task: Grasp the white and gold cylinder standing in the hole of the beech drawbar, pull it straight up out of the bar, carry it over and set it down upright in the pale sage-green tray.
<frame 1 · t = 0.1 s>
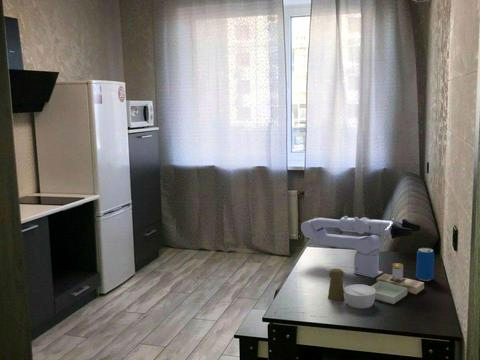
hand: (415, 230, 197), 22 cm above the table, tool horizontal, fingers open, 7 cm apart
drawbar: (399, 286, 198), on the table
cork: (336, 298, 189), on the table
tray: (386, 295, 190), on the table
ramekin: (359, 304, 183), on the table
beverage can: (424, 279, 206), on the table
white and gold cylinder: (397, 286, 199), resting in drawbar
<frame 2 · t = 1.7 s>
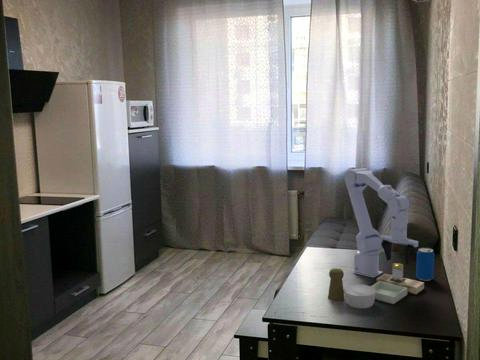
hand: (398, 261, 197), 10 cm above the table, tool pointing down, fingers open, 7 cm apart
nothing on the table moved.
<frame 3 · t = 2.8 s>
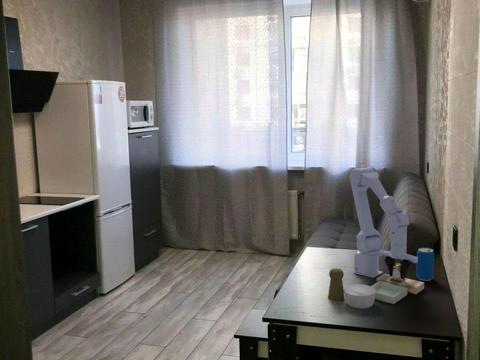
hand: (397, 277, 198), 4 cm above the table, tool pointing down, fingers closed on white and gold cylinder, 4 cm apart
white and gold cylinder: (397, 286, 199), resting in drawbar, touching gripper
everything else where it was.
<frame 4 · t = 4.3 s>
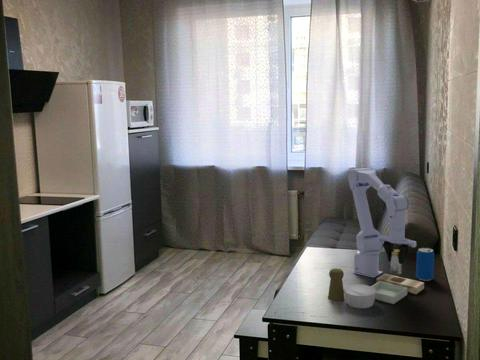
hand: (396, 262, 195), 10 cm above the table, tool pointing down, fingers closed on white and gold cylinder, 4 cm apart
white and gold cylinder: (395, 272, 196), point 6 cm above the table, touching gripper
everything else where it was.
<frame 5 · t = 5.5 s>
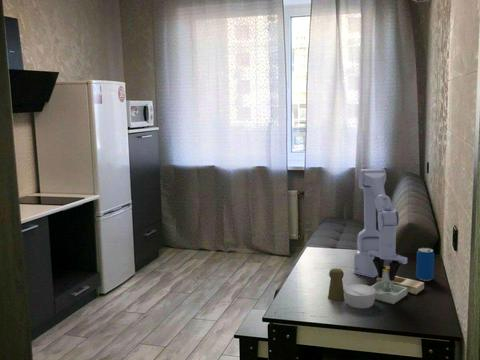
hand: (386, 278, 189), 6 cm above the table, tool pointing down, fingers closed on white and gold cylinder, 4 cm apart
white and gold cylinder: (387, 289, 190), point 2 cm above the table, touching gripper
everything else where it was.
when the fingers open (5 cm above the table, at t = 6.1 s): white and gold cylinder stays where it is, resting on tray.
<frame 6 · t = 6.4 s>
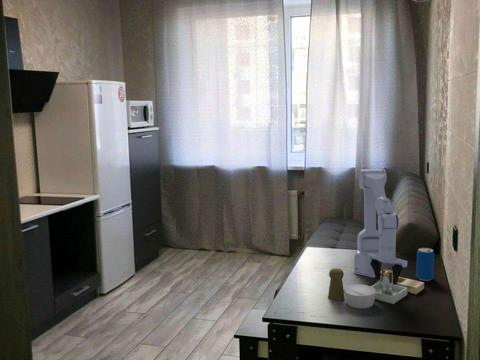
hand: (386, 281, 189), 5 cm above the table, tool pointing down, fingers open, 6 cm apart
white and gold cylinder: (386, 293, 190), point 1 cm above the table, touching tray
everything else where it was.
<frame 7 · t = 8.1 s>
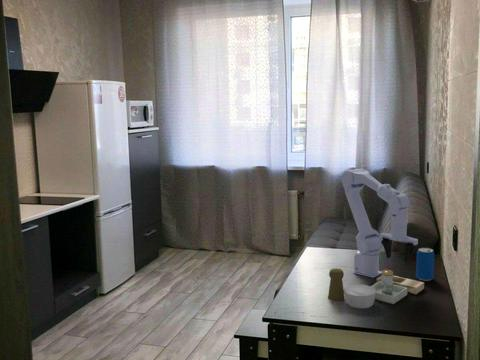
hand: (397, 259, 199), 10 cm above the table, tool pointing down, fingers open, 7 cm apart
nothing on the table moved.
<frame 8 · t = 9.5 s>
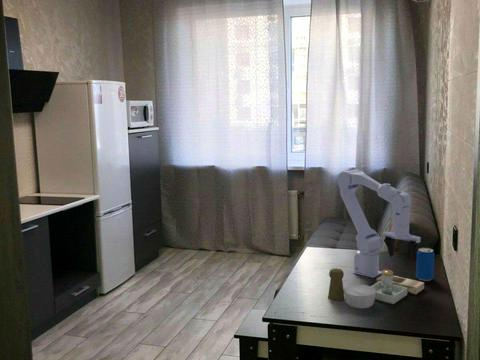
hand: (400, 257, 201), 10 cm above the table, tool pointing down, fingers open, 7 cm apart
nothing on the table moved.
at the end: white and gold cylinder inside the target area on the tray (0.6 cm from its centre), point 0.6 cm above the tray's base; white and gold cylinder tilted 0°; the gripper is holding nothing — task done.
